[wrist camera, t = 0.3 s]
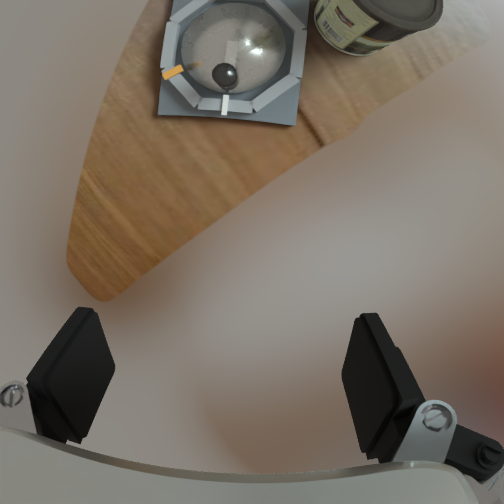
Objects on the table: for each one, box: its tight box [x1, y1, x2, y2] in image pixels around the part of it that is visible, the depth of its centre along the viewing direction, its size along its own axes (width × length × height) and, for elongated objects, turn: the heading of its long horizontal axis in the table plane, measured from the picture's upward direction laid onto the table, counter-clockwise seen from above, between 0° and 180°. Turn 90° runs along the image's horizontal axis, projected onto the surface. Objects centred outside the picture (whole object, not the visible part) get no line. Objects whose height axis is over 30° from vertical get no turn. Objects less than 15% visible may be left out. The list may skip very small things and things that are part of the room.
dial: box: [181, 3, 286, 94], centre depth 27 cm, size 12×12×6 cm
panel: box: [158, 0, 310, 126], centre depth 29 cm, size 18×17×3 cm
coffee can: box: [314, 0, 443, 56], centre depth 22 cm, size 10×10×14 cm
